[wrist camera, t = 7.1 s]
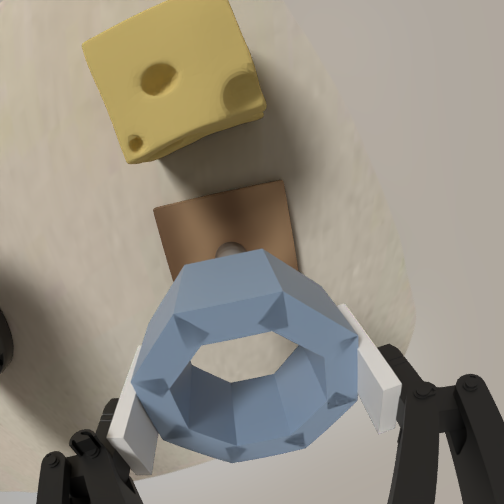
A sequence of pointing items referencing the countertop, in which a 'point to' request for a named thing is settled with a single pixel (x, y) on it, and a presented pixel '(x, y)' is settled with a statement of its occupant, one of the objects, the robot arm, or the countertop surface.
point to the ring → (252, 390)
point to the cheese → (174, 76)
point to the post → (227, 226)
